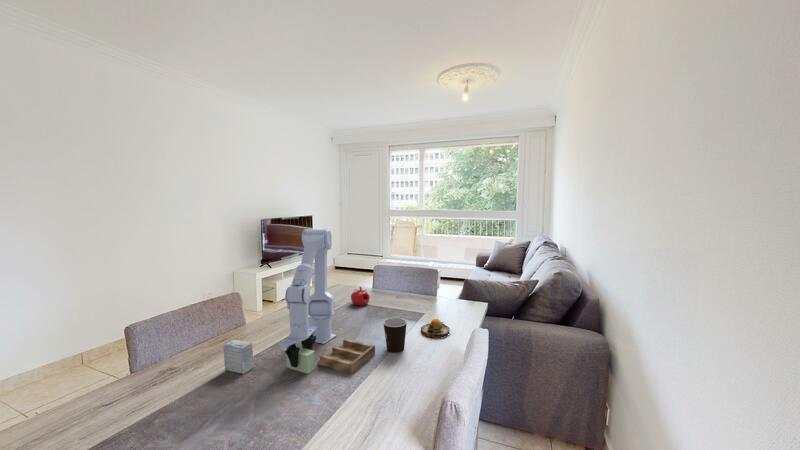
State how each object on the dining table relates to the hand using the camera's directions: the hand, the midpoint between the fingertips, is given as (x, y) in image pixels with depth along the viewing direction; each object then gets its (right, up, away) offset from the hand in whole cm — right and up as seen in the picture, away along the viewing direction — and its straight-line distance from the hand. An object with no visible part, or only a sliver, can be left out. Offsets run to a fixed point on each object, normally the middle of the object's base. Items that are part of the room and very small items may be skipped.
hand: (300, 362), depth 99 cm
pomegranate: (+11, +3, +62) cm, 63 cm away
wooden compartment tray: (+14, -1, +5) cm, 15 cm away
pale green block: (0, -2, 0) cm, 2 cm away
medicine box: (-20, -3, 0) cm, 20 cm away
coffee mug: (+31, -1, +14) cm, 34 cm away
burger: (+47, 0, +26) cm, 54 cm away
